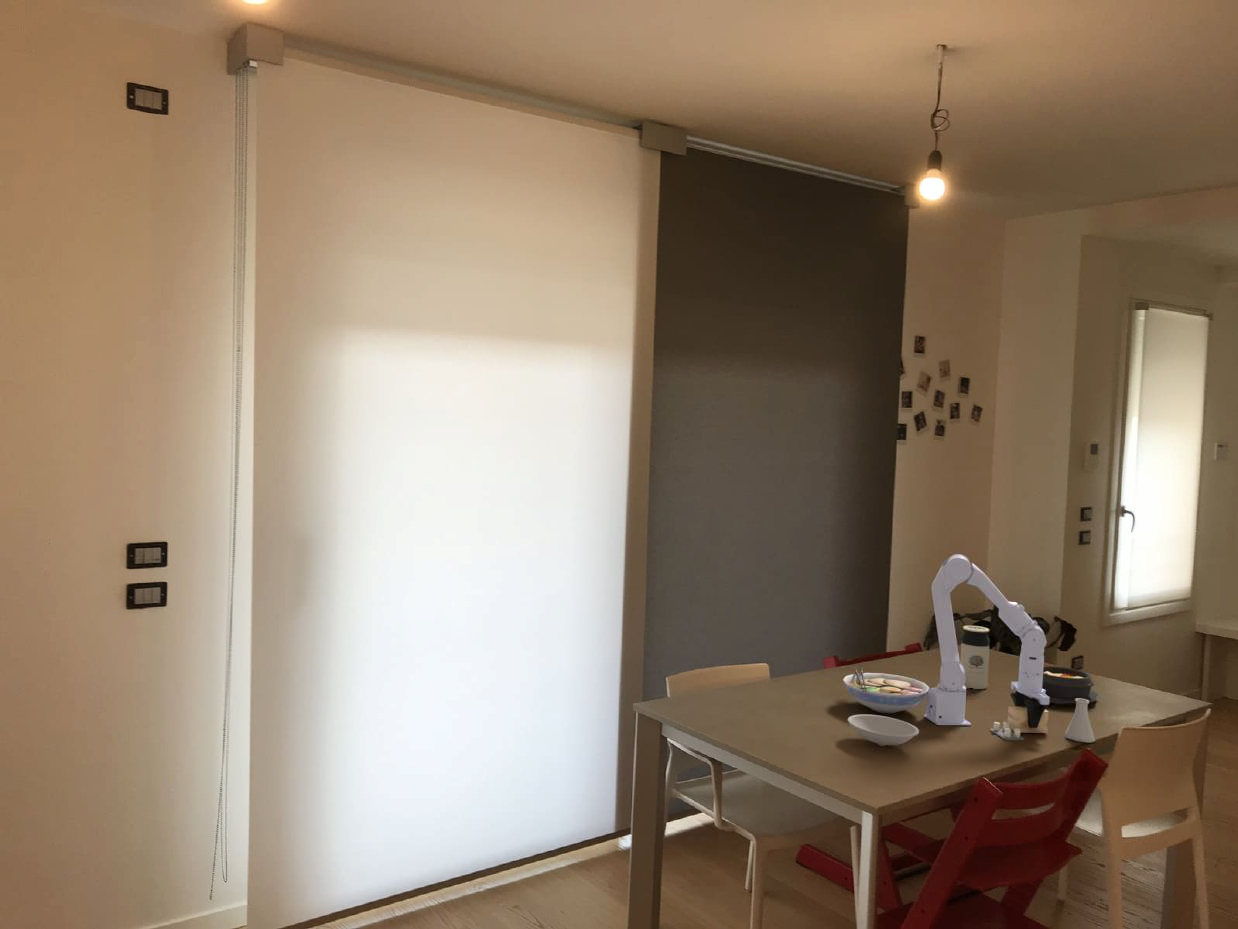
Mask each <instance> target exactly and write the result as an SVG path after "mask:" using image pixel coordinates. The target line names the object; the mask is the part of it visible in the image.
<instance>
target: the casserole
mask: <svg viewBox="0 0 1238 929" xmlns="http://www.w3.org/2000/svg"><path fill="white" fill-rule="evenodd" d="M1094 685H1095V683H1094V681H1093V680H1092V677H1091V674H1089V673H1088V672H1085V671H1083V670H1079V669H1074V668H1070V667H1065V666H1064V667H1063V666H1057V665H1056V666H1052V665H1044V666H1043V682H1042V689H1044V690H1046V693H1045V694H1046V695H1047V696H1048V697H1050V698H1049V704H1050V703H1051V704H1056V705H1063V704H1064V705H1063V706H1065V705H1066V706H1076V701H1075V699H1077V698H1080V699H1085V700H1089V704H1090V703H1094V702H1096V701H1097V697H1098V695H1099V693H1097V692H1096V691H1094V690H1091V689H1092V687H1093V686H1094Z"/></svg>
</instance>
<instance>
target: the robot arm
mask: <svg viewBox="0 0 1238 929" xmlns="http://www.w3.org/2000/svg"><path fill="white" fill-rule="evenodd" d="M965 581H966V584H967V585H970V586H974V587H977V588H978V589H979V590H980V591H981V592H982V593H983V594H984V595H985V596H986V598H988V599H989V600H990V601H991V602H992V603H993V604H994V605H995V606H996V608H998V617H999V618H1000V620H1001V621H1002V622H1003V623H1004V624H1005V625H1006V626H1007V627H1008V628H1009V629H1010V631H1011V632H1013V634H1014V635H1015V636H1018V637H1019V639H1020V641H1021V648H1020V654H1019V665H1018V666H1019V668H1018V679H1017V680H1018V681H1011V683H1010V689H1011V690H1013V691H1015V692H1011V693H1010V697H1011V699H1012V701H1013V703H1014V706H1025V707H1026V708H1027V713H1028V726H1029V727H1030V728H1037V727H1038V725H1039V722H1040V719H1041V716H1042V714H1043V712H1044V711H1045V710H1047V708H1048V707H1049V705H1050V702H1049V698H1050V697H1048V696H1047V695H1046V694H1045V693H1046V690H1044V689H1042V682H1043V666H1045V665H1044V664H1045V663H1044V662H1045V655H1044V653H1045V648H1046V645H1047V643H1048V641H1047V638H1046V637H1047V636H1046V634H1045V632H1044V630H1043V629H1042V628H1041V626H1040V625H1038V622H1037V621H1036V620H1035V619H1034V620H1033V619H1032V618H1031V617H1030V616H1029V614H1027V613H1026V611H1025V606H1023V604H1019V603H1018V602H1017V601H1016V602H1015V601H1009V600H1008V599H1007V598H1006V597H1005V595H1004V594H1003V593H1002V592H1001V591H1000V590H999V589H998V588H997V586H996V585H995V584H994V583H993V581H991V579H990V578H989V577H988V576H987V575H986V574H985V572H983V571H982V569H980V568H979V567H978V566H977V565H976V564H974V563H973V562H970V559H969V558H968V557H967V556H965V555H963V554H960V553H956V554H953V555H950V556H949V557H948V558H947V559H946V560H945V561H944V562H942V565H941V566H940V568H939V570H938V572H937V574H936V576H935V578H934V580H933V582H932V584H931V586H930V587H931V595H932V603H933V610H934V618H935V623H936V630H937V637H938V644H939V649H940V650H939V653H940V659H941V666H940V669H939V671H940V672H939V673H940V675H939V682H937V686H936V687H931V688H930V687H929V689H928V691H927V693H926V702H925V703H926V704H925V714H924V715H923V716H924V717H925V718H926V719H927V720H929V721H931V722H932V723H933V724H935V725H937V726H972V723H971V722H969V721H968V720H967V719H965V718H966V717H965V716H966V702H967V701H966V698H967V688H966V687H965V686H964V684H965V669H964V666H963V665H962V663H961V662H960V659H961V658H960V654H959V648H958V641H957V636H956V628H955V621H954V615H953V607H952V601H951V593H952V591H953V590H954V589H955V588H956V587H957V586H958V585H959V584H962V583H963V582H965Z"/></svg>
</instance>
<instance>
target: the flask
mask: <svg viewBox="0 0 1238 929" xmlns="http://www.w3.org/2000/svg"><path fill="white" fill-rule="evenodd" d="M1075 701H1076V705H1075V710H1074V714H1073V716H1072V719H1071V721H1070V722H1069V725H1068V727H1067V729H1066V730H1065V732H1064V737H1065V738H1066V739H1069V740H1072V741H1075V742H1081V743H1088V744H1089V743H1094V742H1096V739H1095V736H1094V732H1093V729H1092V725H1091V721H1090V718H1089V712H1088V705H1089V704H1090V703H1089V700H1085V699H1080V698H1077V699H1075Z"/></svg>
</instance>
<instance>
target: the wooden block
mask: <svg viewBox="0 0 1238 929" xmlns="http://www.w3.org/2000/svg"><path fill="white" fill-rule="evenodd" d="M1049 715H1050V714H1049V711H1048V710H1047V709H1045V711H1044V712H1043V714H1042V716H1041V719H1040V722H1039V725H1038V727H1037V728H1030V727H1029V726H1028V713H1027V708H1026V707H1025V706H1015V705H1014V706H1010V705H1009V706H1008V712H1007V722H1008V723H1009V729H1011V731H1013V732H1014V729H1015V728H1018V729H1020V734H1021V733H1025V734H1026V733H1027V734H1028V733H1029V734H1030V733H1032V734H1033V733H1034V734H1040V733H1042V734H1044V733H1045V734H1048V732H1049V731H1048V728H1049Z"/></svg>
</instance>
